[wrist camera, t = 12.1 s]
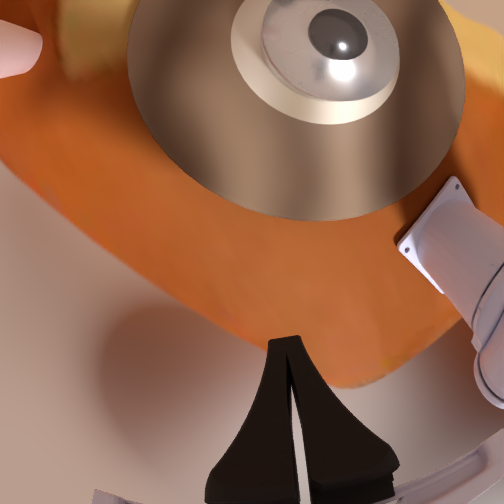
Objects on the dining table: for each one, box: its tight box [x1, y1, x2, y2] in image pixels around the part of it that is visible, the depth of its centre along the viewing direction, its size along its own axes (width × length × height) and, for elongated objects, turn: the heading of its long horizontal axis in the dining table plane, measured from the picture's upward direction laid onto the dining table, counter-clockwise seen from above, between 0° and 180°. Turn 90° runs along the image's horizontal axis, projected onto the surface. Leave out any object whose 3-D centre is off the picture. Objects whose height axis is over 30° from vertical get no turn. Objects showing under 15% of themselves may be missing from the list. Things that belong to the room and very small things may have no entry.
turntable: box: [127, 0, 465, 221], centre depth 11 cm, size 22×22×4 cm
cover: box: [260, 0, 399, 102], centre depth 10 cm, size 7×7×3 cm
